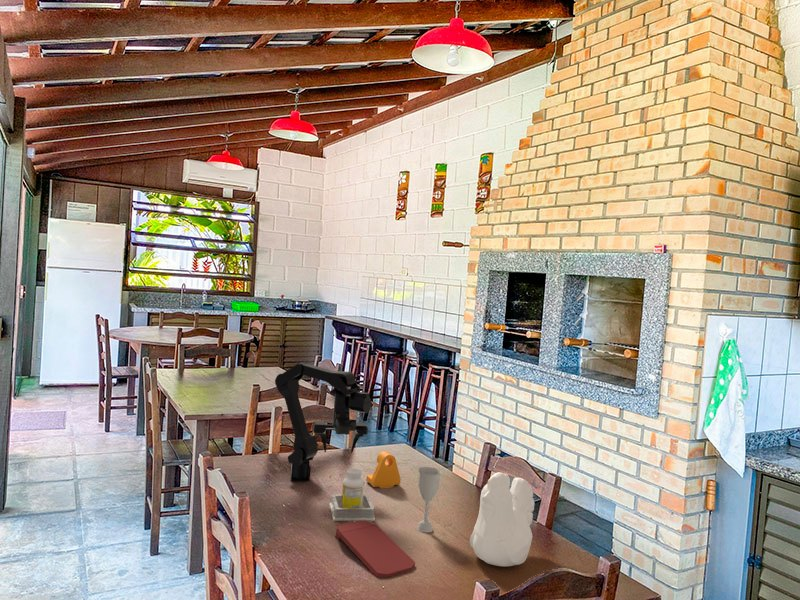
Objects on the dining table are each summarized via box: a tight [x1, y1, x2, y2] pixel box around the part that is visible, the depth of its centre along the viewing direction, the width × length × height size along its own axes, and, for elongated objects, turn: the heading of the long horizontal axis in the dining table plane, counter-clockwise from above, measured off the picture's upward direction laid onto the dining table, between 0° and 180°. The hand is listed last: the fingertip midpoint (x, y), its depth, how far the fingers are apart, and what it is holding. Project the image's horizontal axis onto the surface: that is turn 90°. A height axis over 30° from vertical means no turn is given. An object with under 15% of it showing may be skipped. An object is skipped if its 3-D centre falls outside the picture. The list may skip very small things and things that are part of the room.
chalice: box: [416, 466, 443, 533], centre depth 177 cm, size 7×7×18 cm
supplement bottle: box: [341, 468, 365, 508], centre depth 185 cm, size 7×7×13 cm
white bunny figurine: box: [469, 471, 535, 567], centre depth 163 cm, size 25×16×25 cm, turn 126°
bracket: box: [366, 450, 402, 489], centre depth 213 cm, size 11×7×12 cm, turn 116°
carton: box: [335, 520, 416, 578], centre depth 159 cm, size 12×5×25 cm
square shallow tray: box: [328, 493, 376, 522], centre depth 185 cm, size 13×13×4 cm
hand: (338, 452), depth 204 cm, fingers open, 9 cm apart
